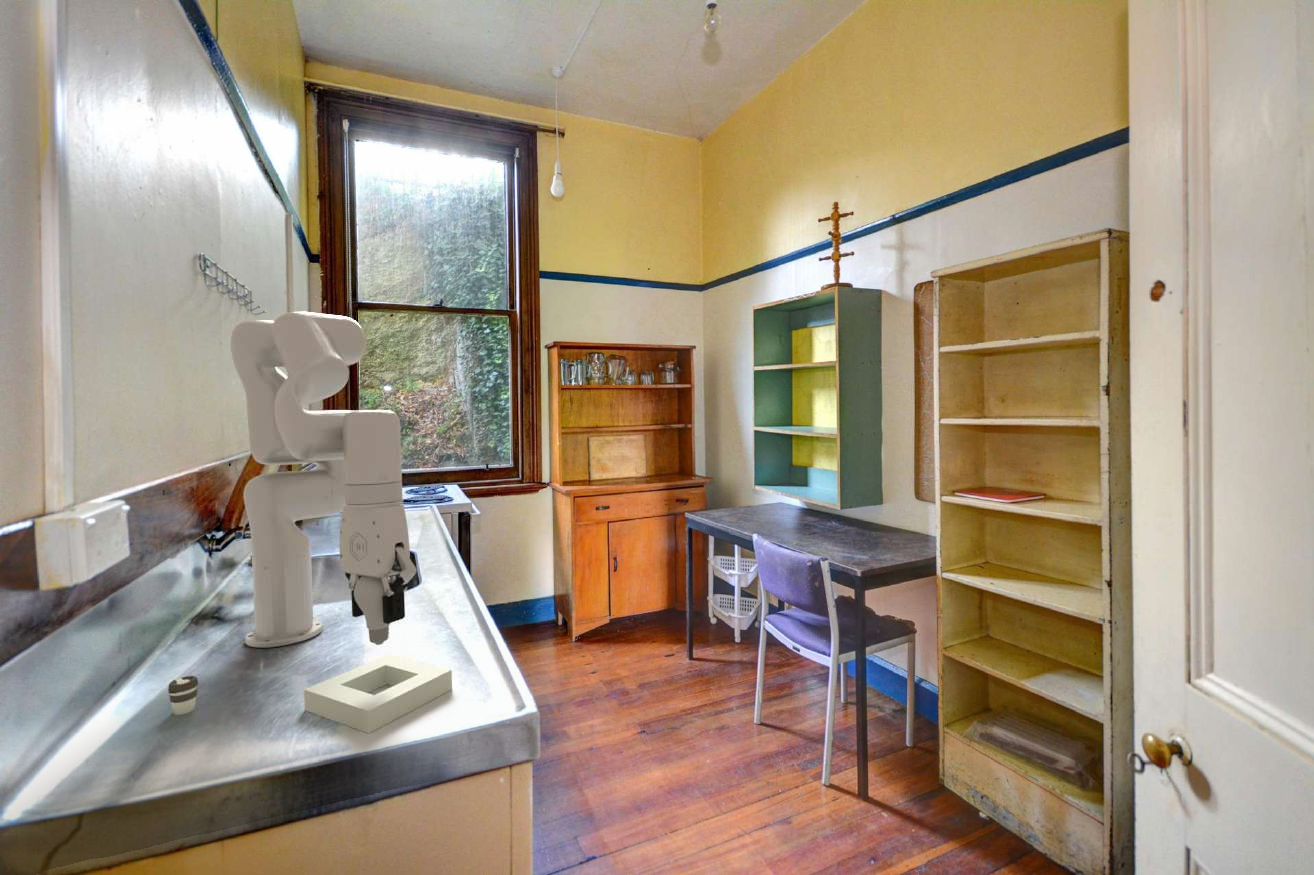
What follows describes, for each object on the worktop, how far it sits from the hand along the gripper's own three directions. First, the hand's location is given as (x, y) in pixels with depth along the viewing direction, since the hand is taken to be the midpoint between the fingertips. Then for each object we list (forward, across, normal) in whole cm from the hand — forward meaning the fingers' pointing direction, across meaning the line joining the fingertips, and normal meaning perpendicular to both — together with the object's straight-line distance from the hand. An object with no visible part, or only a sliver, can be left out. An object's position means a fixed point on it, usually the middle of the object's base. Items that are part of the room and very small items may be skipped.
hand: (378, 616), depth 86 cm
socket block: (+12, 0, 0) cm, 12 cm away
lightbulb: (+4, 0, 0) cm, 4 cm away
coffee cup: (+13, -23, -15) cm, 30 cm away
